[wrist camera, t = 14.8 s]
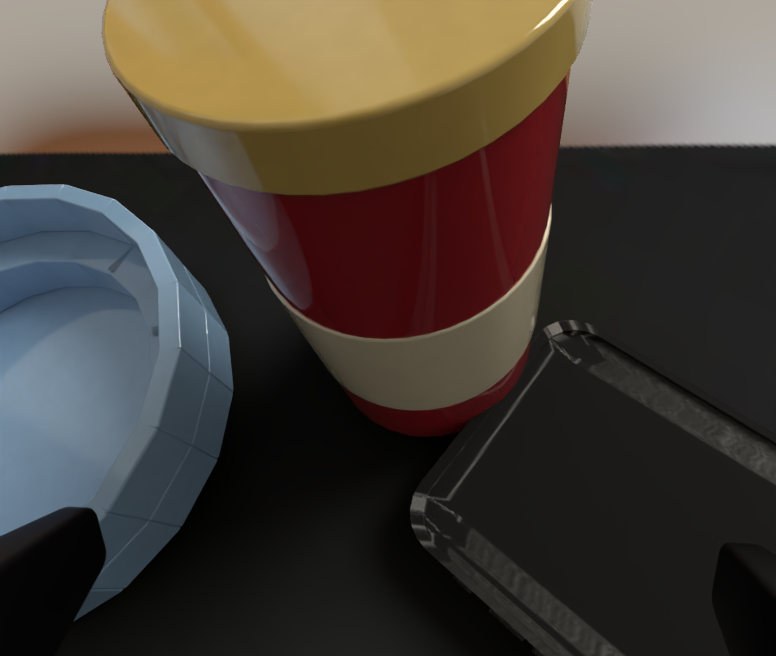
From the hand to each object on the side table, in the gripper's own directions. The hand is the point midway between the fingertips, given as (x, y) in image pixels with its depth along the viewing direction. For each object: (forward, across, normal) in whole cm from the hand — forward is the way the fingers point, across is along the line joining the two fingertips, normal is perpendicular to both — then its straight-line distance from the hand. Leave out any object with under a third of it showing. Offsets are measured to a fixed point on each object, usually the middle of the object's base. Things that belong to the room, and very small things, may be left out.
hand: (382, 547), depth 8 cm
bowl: (+8, +13, +3) cm, 15 cm away
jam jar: (+10, 0, 0) cm, 10 cm away
